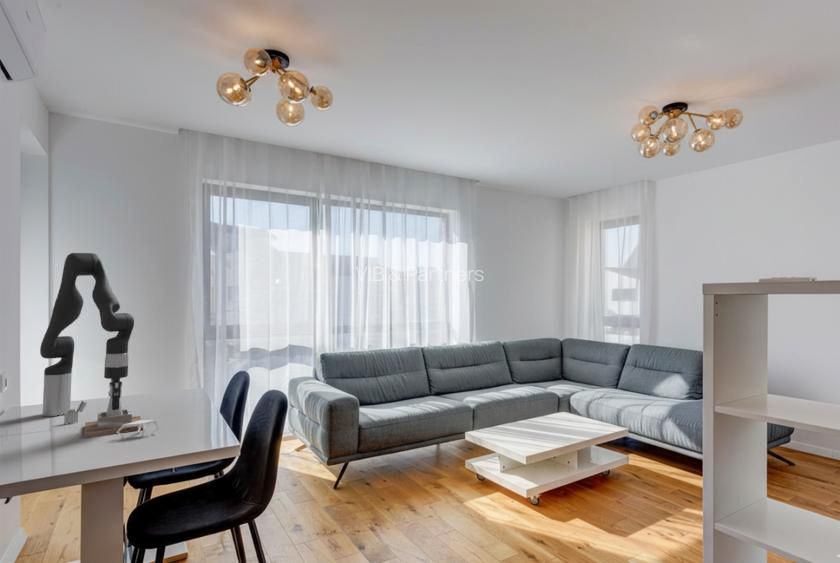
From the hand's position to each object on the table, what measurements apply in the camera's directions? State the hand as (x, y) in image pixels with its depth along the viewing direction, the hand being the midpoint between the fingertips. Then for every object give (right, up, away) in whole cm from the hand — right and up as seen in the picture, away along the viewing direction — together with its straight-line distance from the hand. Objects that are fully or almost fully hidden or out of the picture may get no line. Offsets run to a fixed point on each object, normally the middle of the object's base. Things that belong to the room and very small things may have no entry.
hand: (114, 407), depth 170 cm
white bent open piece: (+15, -8, -10) cm, 19 cm away
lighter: (-21, -8, +8) cm, 24 cm away
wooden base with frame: (0, -8, 0) cm, 8 cm away
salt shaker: (0, -6, 0) cm, 6 cm away
